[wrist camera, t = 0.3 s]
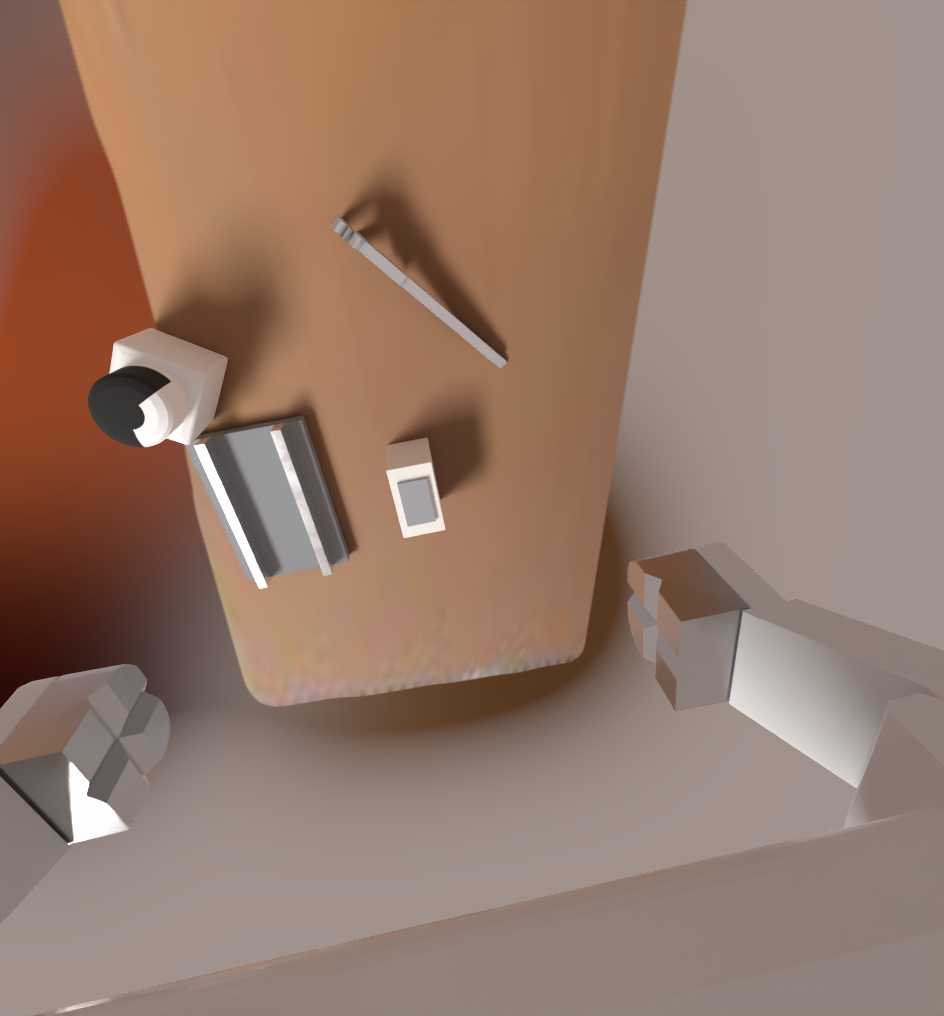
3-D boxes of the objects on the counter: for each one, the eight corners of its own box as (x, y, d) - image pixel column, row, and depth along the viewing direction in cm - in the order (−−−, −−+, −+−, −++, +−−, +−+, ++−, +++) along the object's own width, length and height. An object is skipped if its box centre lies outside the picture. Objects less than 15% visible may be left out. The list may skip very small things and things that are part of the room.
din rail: (200, 438, 51) (193, 445, 50) (284, 423, 52) (280, 429, 50) (263, 578, 60) (259, 589, 58) (334, 564, 60) (332, 574, 59)
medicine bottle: (137, 395, 50) (69, 438, 40) (149, 326, 47) (80, 352, 37) (213, 421, 52) (168, 468, 42) (229, 356, 49) (185, 390, 39)
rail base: (188, 436, 52) (183, 441, 51) (303, 415, 53) (301, 419, 52) (251, 574, 61) (248, 581, 60) (349, 554, 62) (348, 561, 60)
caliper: (334, 226, 46) (325, 226, 40) (341, 216, 45) (333, 214, 40) (500, 368, 54) (512, 383, 48) (507, 360, 53) (519, 375, 48)
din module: (387, 444, 56) (386, 472, 49) (427, 437, 56) (431, 463, 50) (403, 506, 60) (403, 540, 53) (440, 499, 60) (445, 531, 54)
